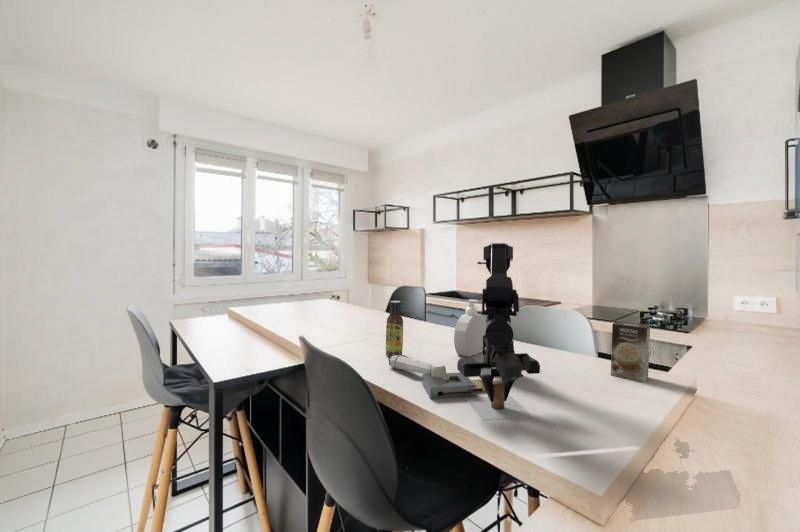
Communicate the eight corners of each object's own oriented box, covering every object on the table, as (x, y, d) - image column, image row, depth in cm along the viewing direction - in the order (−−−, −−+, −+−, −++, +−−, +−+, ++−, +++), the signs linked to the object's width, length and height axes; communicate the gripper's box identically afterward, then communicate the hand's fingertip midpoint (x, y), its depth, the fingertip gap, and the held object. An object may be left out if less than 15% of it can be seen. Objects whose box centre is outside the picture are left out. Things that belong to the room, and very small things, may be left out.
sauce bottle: (383, 356, 129) (382, 301, 128) (389, 352, 135) (389, 299, 134) (399, 358, 127) (399, 302, 126) (405, 353, 133) (405, 300, 132)
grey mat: (510, 397, 93) (510, 395, 93) (533, 419, 81) (533, 416, 81) (465, 400, 91) (465, 398, 91) (483, 422, 79) (483, 420, 79)
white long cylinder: (399, 353, 120) (452, 361, 100) (400, 373, 119) (454, 385, 99) (386, 355, 116) (438, 364, 97) (387, 376, 116) (440, 390, 96)
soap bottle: (466, 359, 126) (466, 303, 126) (453, 356, 130) (453, 301, 129) (488, 350, 138) (489, 298, 137) (476, 347, 142) (476, 297, 141)
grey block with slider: (483, 382, 103) (483, 371, 103) (497, 396, 94) (497, 383, 93) (422, 386, 101) (422, 374, 101) (430, 400, 91) (430, 387, 91)
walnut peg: (501, 404, 88) (501, 380, 88) (506, 409, 85) (506, 384, 85) (489, 404, 88) (489, 380, 87) (494, 410, 85) (494, 385, 84)
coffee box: (609, 375, 110) (610, 323, 109) (614, 370, 114) (615, 320, 114) (645, 382, 104) (646, 327, 103) (649, 377, 108) (650, 324, 108)
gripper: (472, 347, 76) (471, 418, 77) (553, 343, 79) (552, 413, 80) (456, 334, 87) (456, 397, 88) (528, 332, 90) (527, 393, 91)
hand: (497, 400), depth 86 cm, fingers closed on walnut peg, 3 cm apart
